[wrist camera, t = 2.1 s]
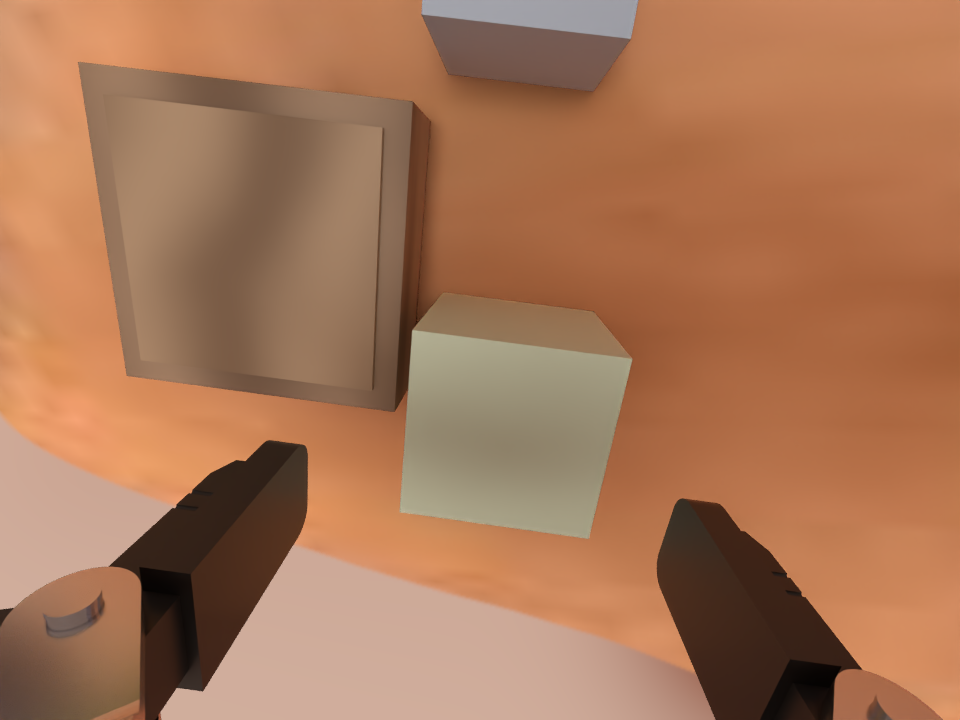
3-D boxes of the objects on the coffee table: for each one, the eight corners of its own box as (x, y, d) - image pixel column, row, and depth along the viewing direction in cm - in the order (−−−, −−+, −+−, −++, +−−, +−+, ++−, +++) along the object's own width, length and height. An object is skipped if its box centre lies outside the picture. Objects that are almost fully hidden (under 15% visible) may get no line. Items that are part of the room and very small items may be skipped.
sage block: (593, 310, 18) (632, 358, 12) (565, 443, 20) (588, 538, 14) (443, 291, 18) (412, 329, 12) (431, 425, 20) (399, 512, 14)
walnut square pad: (430, 120, 16) (411, 99, 13) (411, 381, 19) (393, 414, 16) (154, 88, 16) (71, 59, 13) (183, 351, 19) (122, 377, 16)
